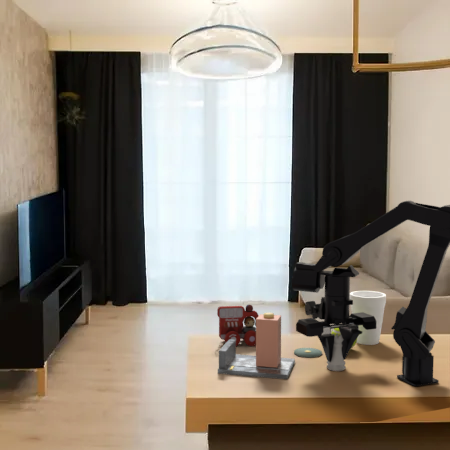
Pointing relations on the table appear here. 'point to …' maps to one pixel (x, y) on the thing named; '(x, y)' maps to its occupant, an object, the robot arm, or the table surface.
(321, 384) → the table surface
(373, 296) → the foam cup
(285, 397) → the table surface
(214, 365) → the table surface
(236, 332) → the toy fire truck
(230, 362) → the rail
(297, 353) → the round pad
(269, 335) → the block
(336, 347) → the rook chess piece
